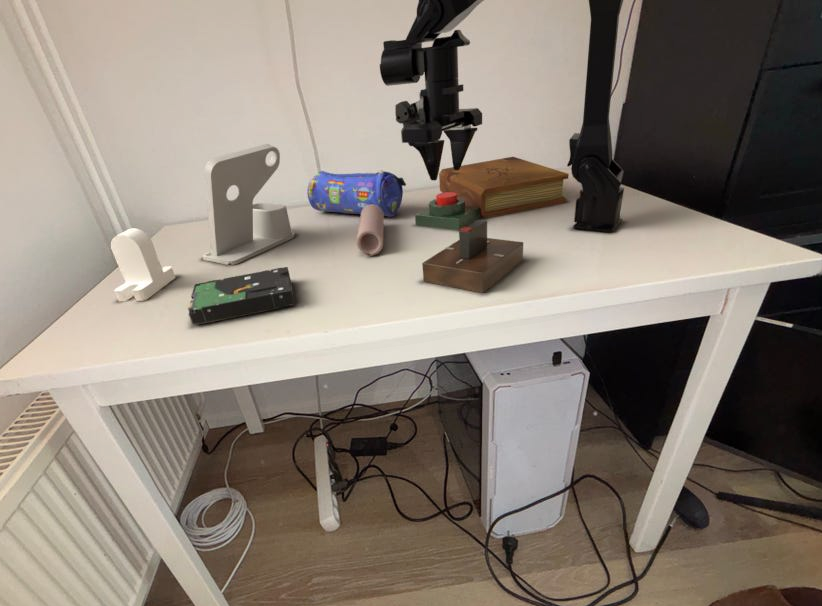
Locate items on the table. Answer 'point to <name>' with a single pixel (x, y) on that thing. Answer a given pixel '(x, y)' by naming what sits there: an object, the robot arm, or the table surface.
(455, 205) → the button box
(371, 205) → the beige hollow tube
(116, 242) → the white stand
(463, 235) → the knob
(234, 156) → the grey bracket stand
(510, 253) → the panel
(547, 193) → the diary
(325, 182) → the pencil case
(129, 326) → the table surface
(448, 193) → the button
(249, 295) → the disk drive
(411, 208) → the table surface
